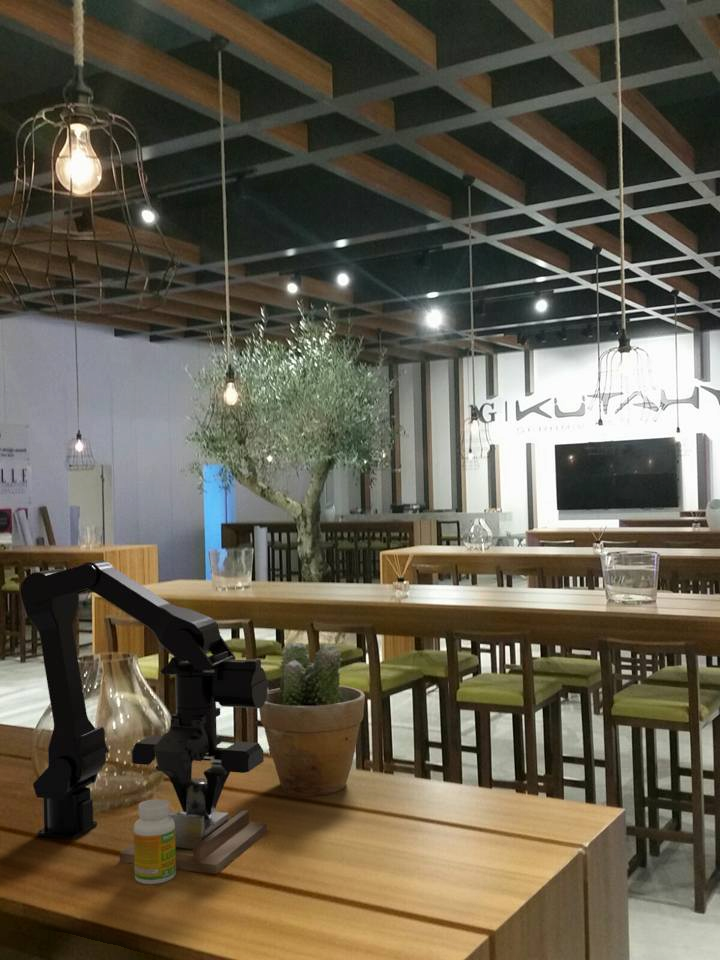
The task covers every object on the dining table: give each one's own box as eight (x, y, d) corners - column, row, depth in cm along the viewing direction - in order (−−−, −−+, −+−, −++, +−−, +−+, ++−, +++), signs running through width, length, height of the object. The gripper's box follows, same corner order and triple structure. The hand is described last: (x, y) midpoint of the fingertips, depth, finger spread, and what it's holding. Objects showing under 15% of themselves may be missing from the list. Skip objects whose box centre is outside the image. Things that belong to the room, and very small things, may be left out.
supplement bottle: (166, 886, 123) (164, 811, 123) (127, 884, 124) (125, 809, 124) (182, 869, 128) (180, 797, 128) (145, 867, 129) (143, 796, 129)
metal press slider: (157, 844, 133) (156, 792, 134) (186, 825, 141) (185, 775, 141) (202, 850, 131) (200, 796, 131) (228, 829, 139) (227, 778, 139)
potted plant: (237, 791, 161) (233, 643, 161) (305, 763, 176) (301, 628, 176) (324, 810, 150) (320, 652, 150) (388, 779, 165) (384, 635, 165)
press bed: (119, 861, 132) (119, 840, 132) (178, 821, 147) (178, 802, 147) (216, 874, 127) (216, 851, 127) (267, 831, 142) (266, 811, 142)
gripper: (108, 714, 133) (111, 826, 133) (228, 722, 127) (231, 839, 127) (150, 696, 143) (153, 800, 143) (263, 703, 137) (266, 811, 137)
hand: (198, 812), depth 137 cm, fingers closed on metal press slider, 4 cm apart
